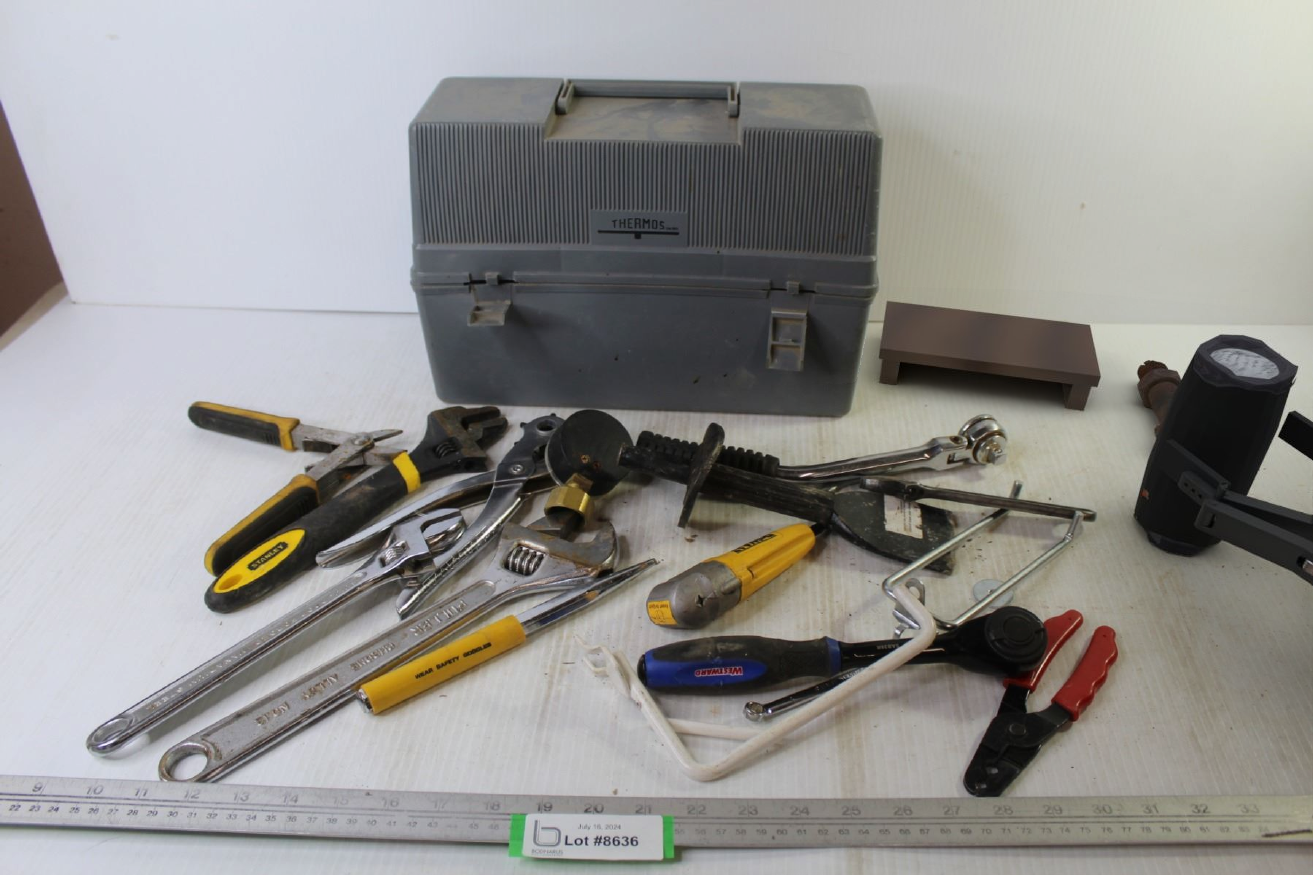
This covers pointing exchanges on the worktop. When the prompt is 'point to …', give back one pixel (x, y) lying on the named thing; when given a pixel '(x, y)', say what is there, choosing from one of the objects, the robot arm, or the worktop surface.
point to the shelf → (990, 346)
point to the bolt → (1157, 387)
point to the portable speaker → (1215, 432)
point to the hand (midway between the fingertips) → (1226, 437)
